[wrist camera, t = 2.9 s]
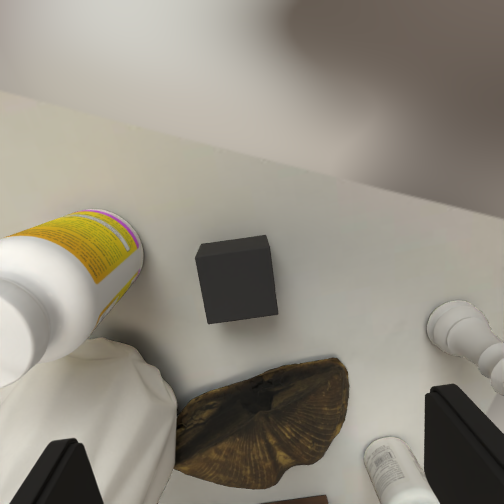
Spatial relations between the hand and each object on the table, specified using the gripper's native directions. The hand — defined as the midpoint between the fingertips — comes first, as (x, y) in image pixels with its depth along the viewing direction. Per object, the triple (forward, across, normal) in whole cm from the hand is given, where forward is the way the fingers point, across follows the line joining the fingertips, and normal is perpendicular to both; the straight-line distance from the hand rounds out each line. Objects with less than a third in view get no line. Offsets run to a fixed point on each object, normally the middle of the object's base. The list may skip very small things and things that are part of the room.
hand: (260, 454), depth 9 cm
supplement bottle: (+18, +11, -2) cm, 21 cm away
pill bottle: (+18, -10, +21) cm, 29 cm away
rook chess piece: (+18, -16, +8) cm, 25 cm away
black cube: (+18, +1, +1) cm, 18 cm away
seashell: (+18, 0, +14) cm, 23 cm away
